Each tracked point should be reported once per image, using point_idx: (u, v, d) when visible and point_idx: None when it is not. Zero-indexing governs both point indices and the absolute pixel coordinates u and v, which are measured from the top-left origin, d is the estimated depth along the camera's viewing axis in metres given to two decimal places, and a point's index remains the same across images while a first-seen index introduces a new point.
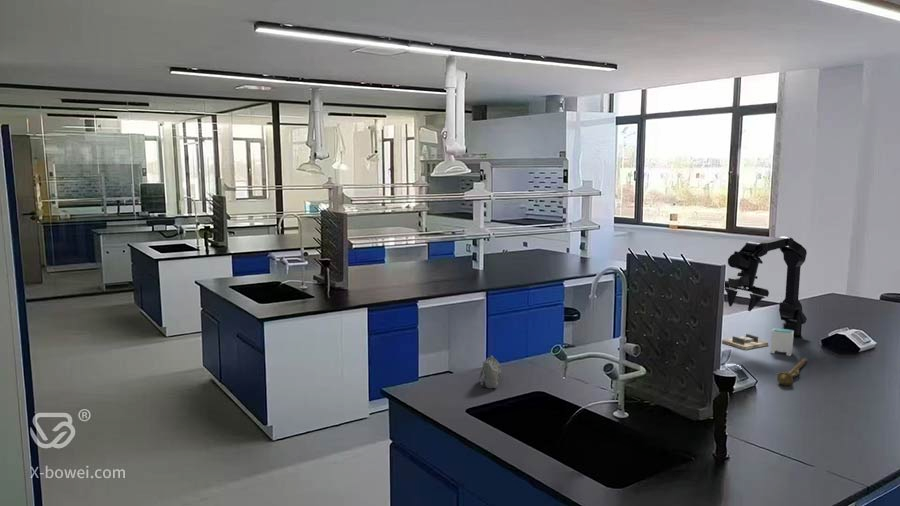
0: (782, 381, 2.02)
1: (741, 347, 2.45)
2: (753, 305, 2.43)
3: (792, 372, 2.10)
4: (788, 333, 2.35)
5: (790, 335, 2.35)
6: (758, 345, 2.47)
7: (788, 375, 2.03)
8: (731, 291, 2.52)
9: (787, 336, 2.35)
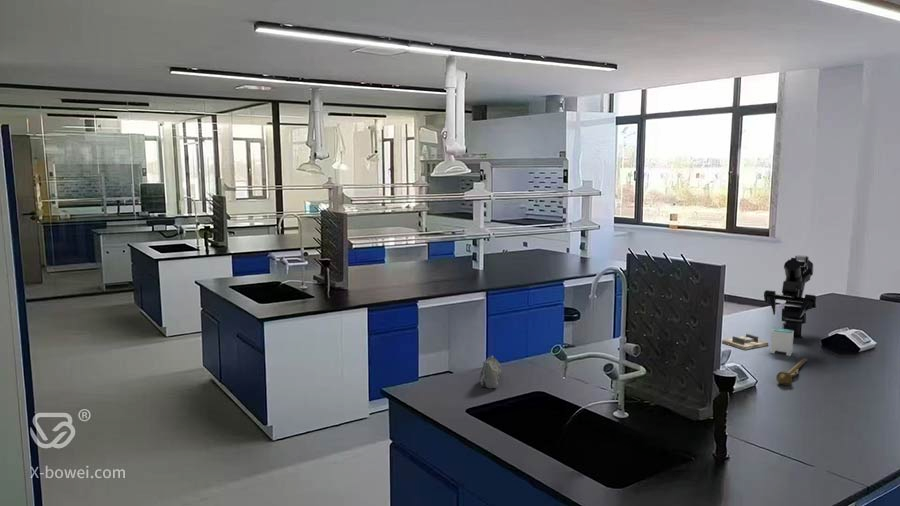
0: (781, 381, 2.02)
1: (741, 347, 2.45)
2: (803, 313, 2.42)
3: (791, 372, 2.10)
4: (788, 333, 2.35)
5: (790, 335, 2.35)
6: (758, 345, 2.47)
7: (787, 375, 2.03)
8: (775, 300, 2.49)
9: (787, 336, 2.35)
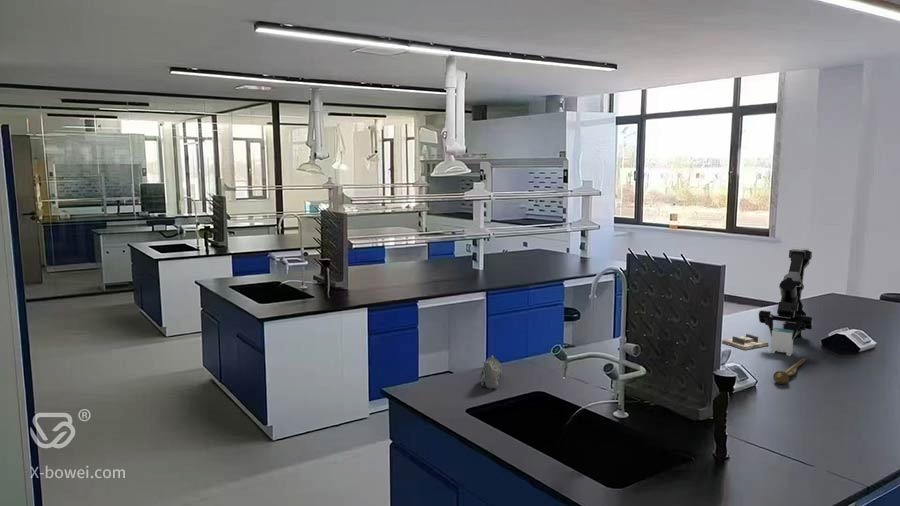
0: (778, 380, 2.03)
1: (741, 347, 2.45)
2: (796, 334, 2.36)
3: (789, 371, 2.11)
4: (788, 333, 2.35)
5: (790, 335, 2.35)
6: (758, 345, 2.47)
7: (784, 374, 2.04)
8: (772, 321, 2.42)
9: (787, 336, 2.35)
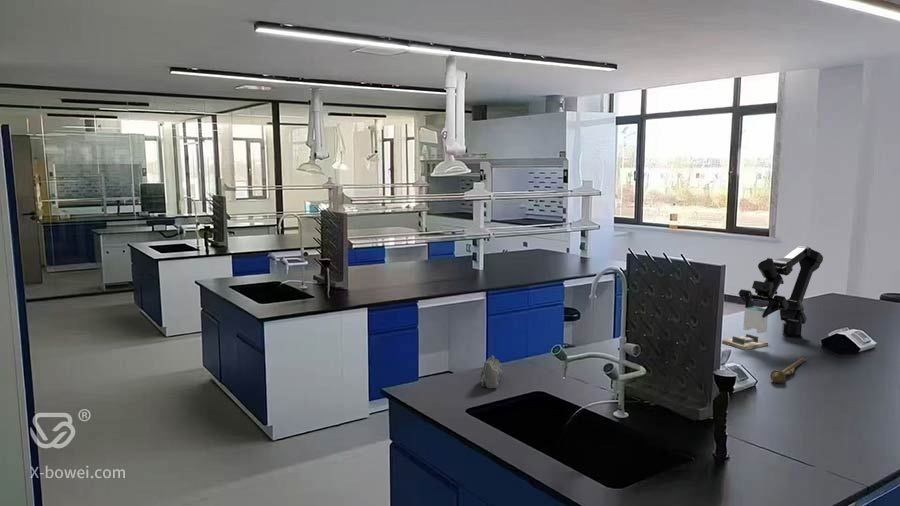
0: (774, 379, 2.04)
1: (741, 347, 2.45)
2: (768, 313, 2.42)
3: (786, 370, 2.12)
4: (758, 311, 2.42)
5: (760, 313, 2.42)
6: (758, 345, 2.47)
7: (781, 373, 2.05)
8: (750, 300, 2.50)
9: (757, 314, 2.42)
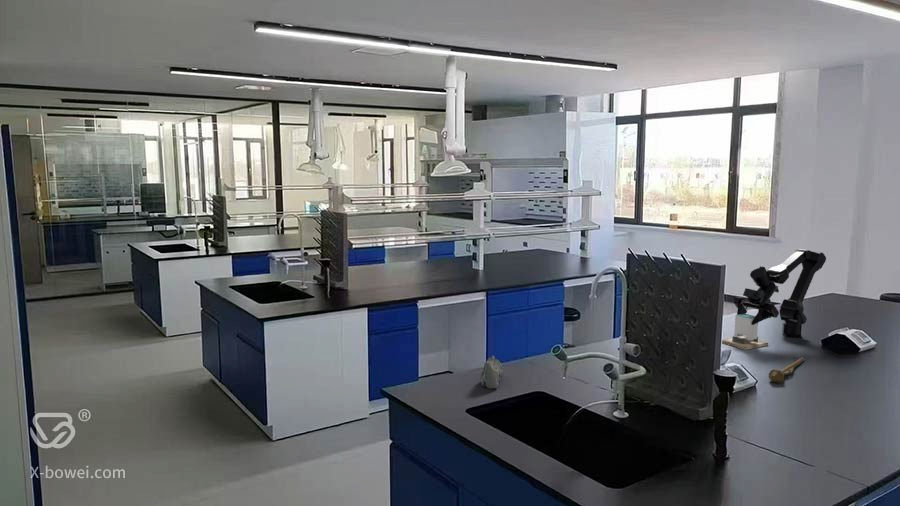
0: (773, 378, 2.05)
1: (741, 347, 2.45)
2: (758, 320, 2.46)
3: (785, 370, 2.12)
4: (747, 318, 2.47)
5: (748, 320, 2.46)
6: (758, 345, 2.47)
7: (779, 373, 2.05)
8: (742, 307, 2.54)
9: (746, 321, 2.47)
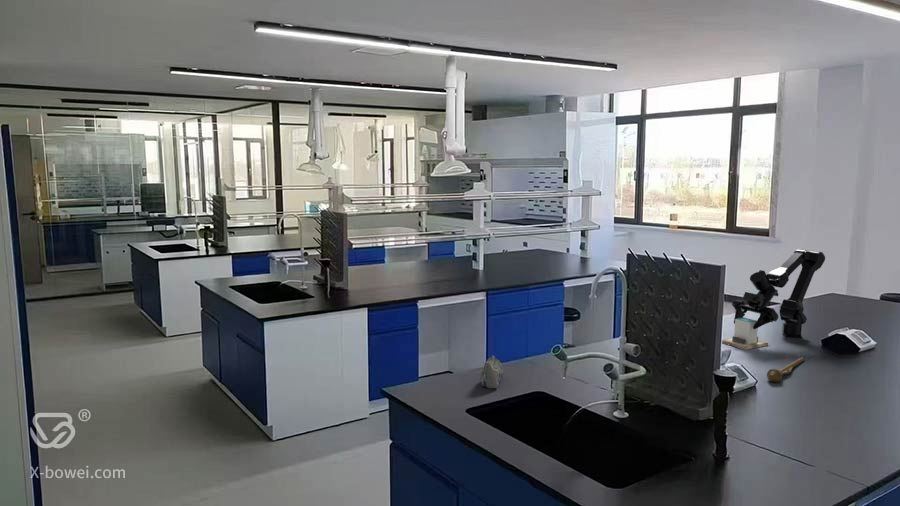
0: (771, 378, 2.05)
1: (741, 347, 2.45)
2: (759, 324, 2.45)
3: (784, 370, 2.13)
4: (747, 322, 2.47)
5: (748, 324, 2.46)
6: (758, 345, 2.47)
7: (777, 372, 2.06)
8: (740, 310, 2.55)
9: (746, 325, 2.47)
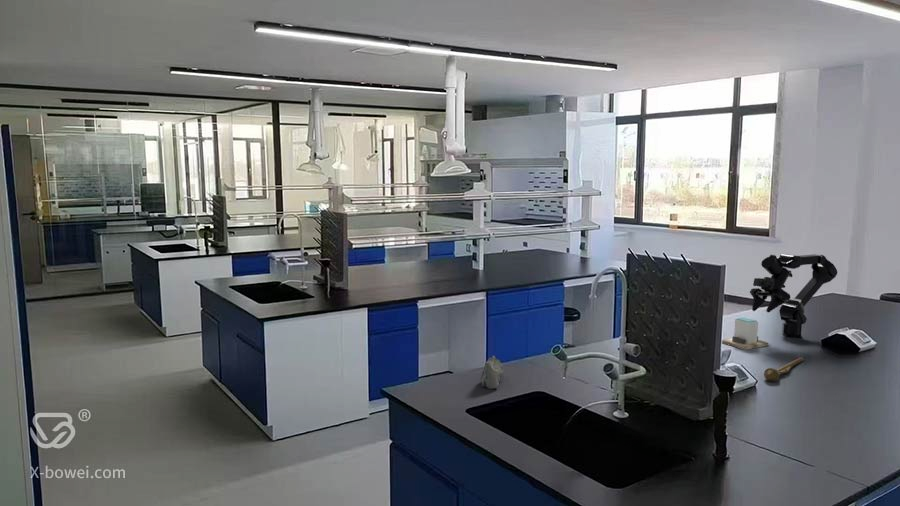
0: (767, 377, 2.06)
1: (741, 347, 2.45)
2: (772, 307, 2.49)
3: (781, 369, 2.13)
4: (747, 322, 2.47)
5: (748, 324, 2.46)
6: (758, 345, 2.47)
7: (774, 371, 2.07)
8: (757, 297, 2.60)
9: (746, 325, 2.47)
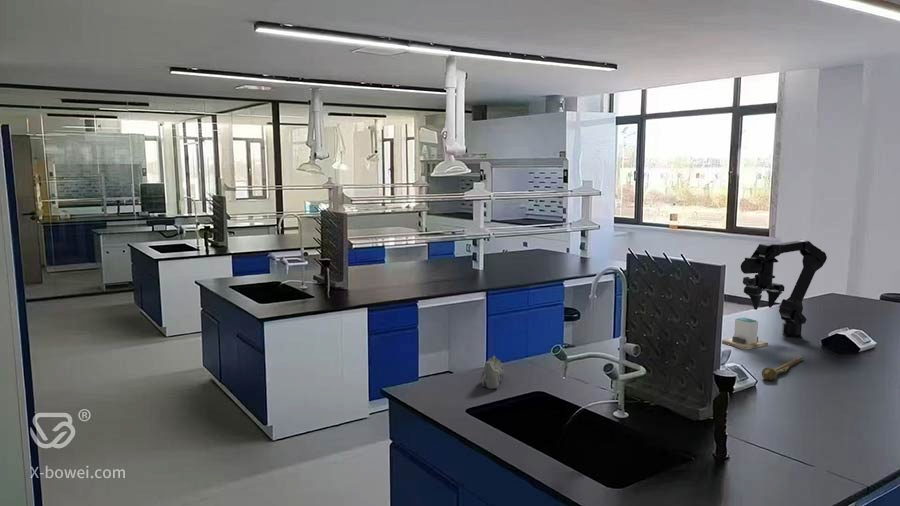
0: (765, 376, 2.07)
1: (741, 347, 2.45)
2: (755, 304, 2.55)
3: (779, 368, 2.14)
4: (747, 322, 2.47)
5: (748, 324, 2.46)
6: (758, 345, 2.47)
7: (771, 370, 2.07)
8: (769, 292, 2.61)
9: (746, 325, 2.47)
